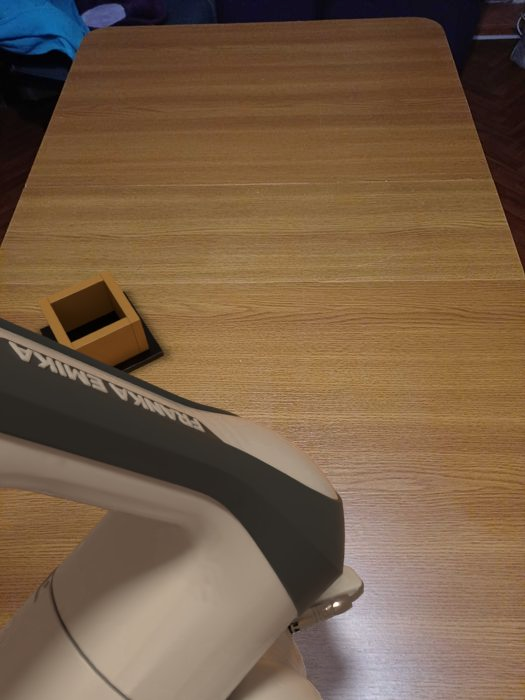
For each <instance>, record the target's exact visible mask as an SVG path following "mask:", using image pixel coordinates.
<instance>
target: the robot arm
mask: <svg viewBox="0 0 525 700" xmlns="http://www.w3.org/2000/svg"><path fill="white" fill-rule="evenodd" d="M0 490H19V491H24V492H30V493H34V494H37V495H38V494H39V495H43V496H47V497H51V498H55V499H59V500H63V501H64V500H65V501H69V502H73V503H77V504H81V505H82V504H83V505H86V506H90V507H95V508H99V509H103V510H107V512H105V513H104V515H103V516H102V517H101V518H100V519H99V520H98V521H97V523H95V525H94V526H93V527H92V528H91V529H90V530H89V531H88V533H87V534H86V535H85V536H84V537H83V538H82V540H80V542H79V543H78V544H77V545H76V546H75V547H74V548H73V550H71V552H70V553H69V554H68V555H67V557H65V559H64V560H63V561H62V562H61V563H60V564H59V565H57V566H56V567H55V568H53V570H52V571H51V572H50V573H49V575H47V577H46V578H45V579H44V580H43V581H42V582H41V583H40V584H39V586H38V587H37V588H36V589H35V590H34V591H33V592H32V594H31V595H30V596H29V597H28V598H27V599H26V601H24V603H23V604H22V605H21V606H20V608H19V609H17V611H16V612H15V613H14V615H13V616H12V617H11V618H10V619H9V620H8V621H7V623H5V625H4V626H3V627H2V629H1V630H0V700H324V699H323V697H322V696H321V694H320V692H319V691H318V690H317V688H316V687H315V686H314V684H313V683H312V682H311V681H310V680H309V679H308V676H307V670H306V666H305V665H306V664H305V662H304V659H303V656H302V653H301V652H300V650H299V646H298V645H297V643H296V641H295V639H294V637H293V635H294V634H297V633H299V632H302V631H304V630H307V629H310V628H312V627H314V626H316V625H319V624H321V623H324V622H326V621H328V620H330V619H333V618H334V617H336V616H340V615H343V614H345V613H347V612H348V611H350V610H352V608H353V607H354V606H353V603H354V602H356V601H357V600H358V599H359V598H360V597H361V596H362V595H363V594H364V593H365V583H364V580H363V579H362V578H361V577H360V576H359V574H358V573H357V572H356V570H355V569H354V568H353V567H351V566H348V565H345V553H346V551H345V549H346V522H345V509H344V503H343V498H342V496H341V495H340V494H339V493H338V491H337V490H336V489H335V488H334V486H333V483H332V482H331V481H330V479H329V477H328V476H327V474H326V473H325V471H324V470H322V469H321V467H320V466H319V465H318V463H316V462H315V460H314V459H313V458H312V457H310V455H309V454H308V453H306V452H305V450H303V449H302V448H301V447H300V446H298V445H297V444H296V443H295V442H293V441H292V440H290V439H289V438H287V436H285V435H283V434H282V433H280V432H278V431H277V430H275V429H273V428H271V427H269V426H267V425H265V424H262V423H260V422H257V421H255V420H252V419H248V418H245V417H242V416H240V415H238V414H236V413H234V412H232V411H231V412H230V411H228V410H225V409H222V408H219V407H214V406H211V405H206V404H203V403H199V402H196V401H194V400H190V399H187V398H185V397H182V396H180V395H179V394H175V393H173V392H171V391H168V390H166V389H164V388H161V387H159V386H157V385H155V384H153V383H150V382H148V381H146V380H143V379H141V378H139V377H138V376H135V375H132V374H130V373H126V372H123V371H121V370H119V369H117V368H114V367H112V366H110V365H108V364H105V363H103V362H101V361H99V360H96V359H94V358H92V357H89V356H87V355H85V354H83V353H80V352H78V351H76V350H74V349H71V348H69V347H67V346H65V345H62V344H60V343H58V342H56V341H53V340H51V339H49V338H47V337H44V336H43V335H42V334H41V333H37V332H35V331H33V330H30V329H28V328H25V327H23V326H21V325H19V324H16V323H14V322H12V321H9V320H7V319H5V318H2V317H0Z"/></svg>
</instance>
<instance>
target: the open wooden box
mask: <svg viewBox="0 0 525 700" xmlns="http://www.w3.org/2000/svg"><path fill="white" fill-rule="evenodd" d="M36 302H37V304H38V307H39V308H40V311H41V312H42V314H43V316H44V318H45V319H46V322H47V324H48V325H46V326H44V327H42V328H40V329H39V331H40V334H41V335H42V336H44V337H47V338H49V339H51V340H53V341H56V342H58V343H60V344H62V345H65V346H67V347H69V348H71V349H74V350H76V351H78V352H80V353H83V354H85V355H87V356H89V357H92V358H94V359H96V360H99V361H101V362H103V363H105V364H108V365H110V366H112V367H114V368H117V369H119V370H121V371H123V372H126V373H128V374H130V373H131V372H133V371H135V370H137V369H138V368H139V369H140V368H141V367H143V366H145V365H147V364H149V363H151V362H153V361H155V360H157V359H159V358H162V357H163V356H164V355H165V352H164V350H163V348H162V347H161V346H160V344H159V343H158V340H157V339H156V338H155V336H154V335H153V333H152V331H151V330H150V328H149V327H148V326H147V324H146V322H145V321H144V319H143V318H142V316H141V315H140V313H139V312H138V310H137V309H136V307H135V305H134V304H133V302H132V301H131V299H130V297H129V296H128V294H127V293H126V292H125V291H123V290H122V288H121V287H120V286H119V284H118V282H117V281H116V279H115V278H114V277H113V275H112V273H111V272H110V270H106V271H104V272H101V273H100V274H97V275H95V276H92V277H90V278H87V279H85V280H83V281H81V282H79V283H76V284H74V285H72V286H69V287H67V288H65V289H62V290H60V291H58V292H56V293H53V294H50V295H49V296H47V297H44V298H42V299H39V300H37V301H36Z"/></svg>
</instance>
